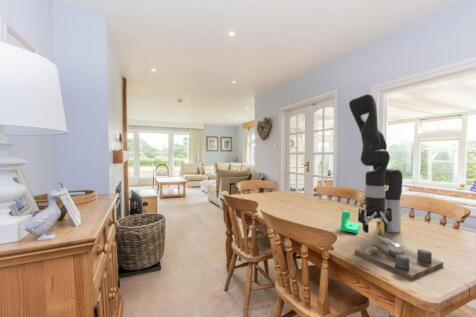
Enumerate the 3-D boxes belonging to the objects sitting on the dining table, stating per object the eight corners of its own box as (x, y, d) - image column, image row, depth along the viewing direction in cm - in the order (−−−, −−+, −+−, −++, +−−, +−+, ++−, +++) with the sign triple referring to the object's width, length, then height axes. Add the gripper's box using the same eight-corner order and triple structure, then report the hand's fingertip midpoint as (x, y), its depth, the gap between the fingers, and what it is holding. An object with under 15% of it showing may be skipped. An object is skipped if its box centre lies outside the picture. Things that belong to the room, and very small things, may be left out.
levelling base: (384, 244, 99) (384, 233, 99) (443, 266, 80) (443, 252, 80) (354, 253, 91) (354, 241, 91) (411, 280, 72) (411, 265, 72)
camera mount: (357, 235, 111) (356, 215, 111) (340, 232, 115) (340, 213, 115) (359, 228, 121) (359, 210, 120) (344, 225, 125) (344, 208, 125)
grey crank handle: (407, 258, 83) (407, 232, 82) (394, 258, 83) (394, 232, 83) (383, 242, 97) (383, 220, 96) (372, 242, 97) (372, 220, 97)
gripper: (383, 192, 99) (383, 227, 99) (354, 194, 97) (354, 229, 98) (397, 196, 91) (397, 233, 92) (365, 198, 90) (365, 236, 91)
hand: (375, 231), depth 95 cm, fingers open, 8 cm apart
